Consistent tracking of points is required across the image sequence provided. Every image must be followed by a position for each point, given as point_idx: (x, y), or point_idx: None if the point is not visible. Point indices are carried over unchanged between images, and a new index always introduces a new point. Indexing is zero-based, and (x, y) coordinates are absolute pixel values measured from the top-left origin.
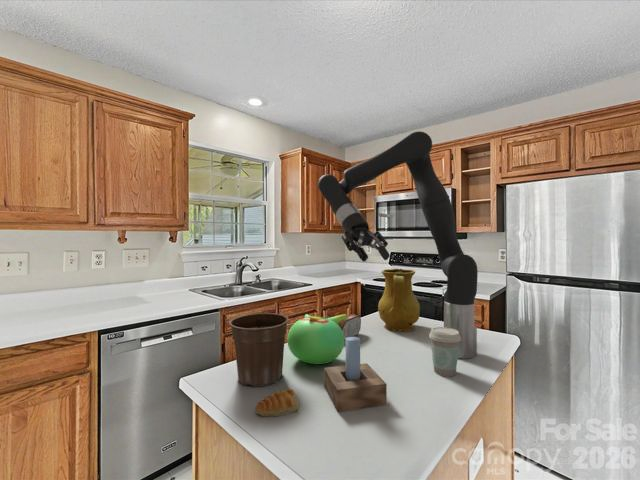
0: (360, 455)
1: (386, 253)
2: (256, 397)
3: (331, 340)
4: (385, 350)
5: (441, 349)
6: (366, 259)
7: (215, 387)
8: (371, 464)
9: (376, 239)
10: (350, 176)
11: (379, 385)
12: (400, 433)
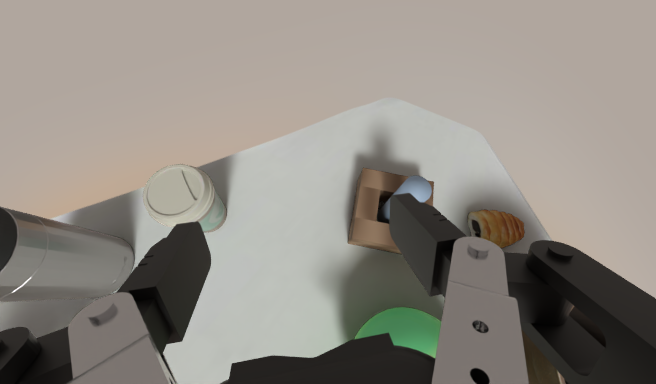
0: (425, 128)
1: (191, 233)
2: None
3: (405, 311)
4: (224, 358)
5: (214, 189)
6: (392, 212)
7: None
8: (421, 117)
9: (146, 354)
10: None
11: (373, 170)
12: (374, 135)
